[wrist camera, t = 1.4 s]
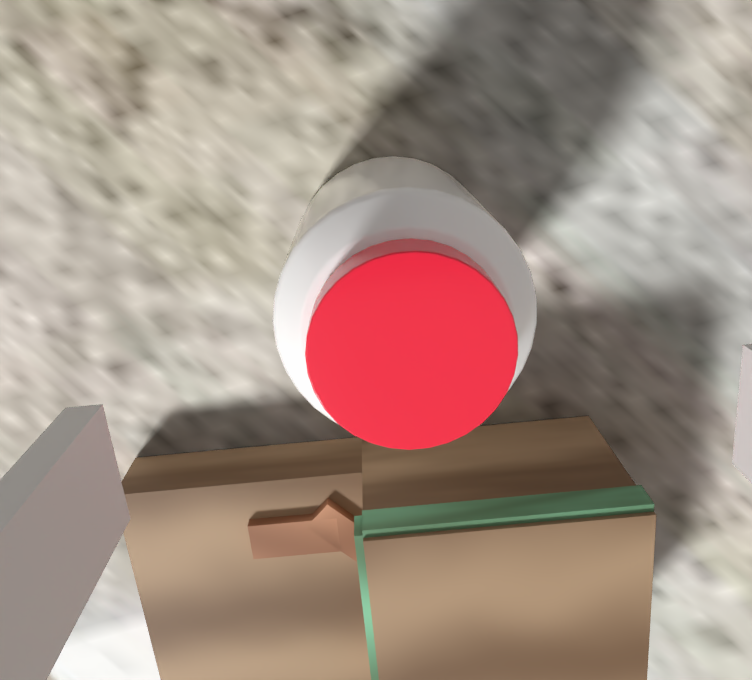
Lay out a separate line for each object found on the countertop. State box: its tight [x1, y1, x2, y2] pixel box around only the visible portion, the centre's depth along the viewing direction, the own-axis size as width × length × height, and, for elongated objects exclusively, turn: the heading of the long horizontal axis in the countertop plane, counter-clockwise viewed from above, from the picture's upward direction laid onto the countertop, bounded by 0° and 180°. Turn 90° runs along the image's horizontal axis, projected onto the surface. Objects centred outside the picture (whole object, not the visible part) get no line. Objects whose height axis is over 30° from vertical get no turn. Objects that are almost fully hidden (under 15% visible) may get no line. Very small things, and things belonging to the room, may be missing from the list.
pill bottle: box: [273, 156, 537, 450], centre depth 23 cm, size 8×8×11 cm
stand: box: [122, 416, 656, 680], centre depth 30 cm, size 12×20×8 cm, turn 95°
